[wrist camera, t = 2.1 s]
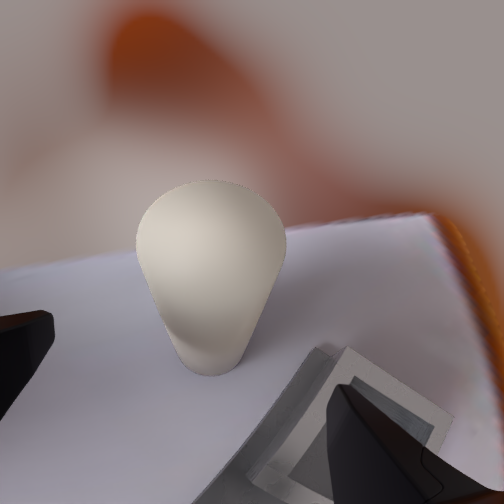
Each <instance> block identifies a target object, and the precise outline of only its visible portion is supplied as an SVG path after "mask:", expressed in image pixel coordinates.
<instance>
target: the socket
mask: <svg viewBox="0 0 504 504" xmlns="http://www.w3.org/2000/svg"><path fill="white" fill-rule="evenodd" d="M337 384H348V385H351V386H352V387H353V388H355V389H356V390H357V391H358V392H359V393H360V394H362V395H363V396H364V397H365V398H366V399H368V400H369V401H370V402H371V403H372V404H374V405H375V406H376V407H377V408H378V409H380V410H381V411H382V412H383V413H384V414H386V415H387V416H388V417H389V418H391V419H392V420H393V421H394V422H395V423H397V424H398V425H399V426H400V427H402V428H403V429H404V430H405V431H406V432H408V433H409V434H410V435H411V436H413V437H414V438H415V439H416V440H418V441H419V442H420V443H421V444H423V446H425V447H427V448H428V449H429V450H430V451H431V452H433V453H434V454H435V455H437V454H438V452H439V450H440V448H441V446H442V444H443V441H444V439H445V437H446V435H447V432H448V430H449V428H450V425H451V423H452V421H453V418H454V416H452V415H451V414H449V413H448V412H446V411H445V410H443V409H441V408H440V407H438V406H437V405H435V404H434V403H432V402H431V401H429V400H428V399H426V398H425V397H423V396H422V395H420V394H419V393H417V392H416V391H414V390H413V389H411V388H409V387H408V386H406V385H405V384H403V383H402V382H400V381H399V380H397V379H396V378H394V377H393V376H391V375H390V374H388V373H387V372H385V371H384V370H382V369H381V368H380V367H378V366H377V365H375V364H374V363H372V362H371V361H369V360H368V359H366V358H365V357H363V356H362V355H360V354H359V353H357V352H356V351H354V350H353V349H351V348H350V347H349V346H346V347H345V348H343V349H342V350H340V351H339V352H337V353H336V354H334V355H333V356H331V357H329V356H328V355H326V354H325V353H324V352H322V351H321V350H319V349H318V348H316V347H315V348H314V349H313V350H311V352H310V353H309V355H308V356H307V358H306V359H305V361H304V362H303V364H302V365H301V366H300V368H299V369H298V371H297V372H296V374H295V375H294V377H293V378H292V379H291V381H290V382H289V384H288V385H287V386H286V388H285V389H284V391H283V392H282V393H281V395H280V396H279V398H278V399H277V400H276V402H275V403H274V404H273V406H272V407H271V408H270V410H269V411H268V412H267V414H266V415H265V416H264V418H263V419H262V420H261V422H260V423H259V424H258V426H257V427H256V428H255V429H254V431H253V432H252V433H251V435H250V436H249V437H248V438H247V440H246V441H245V442H244V443H243V445H242V446H241V447H240V448H239V449H238V451H237V452H236V453H235V454H234V456H233V457H232V458H231V459H230V460H229V462H228V463H227V464H226V465H225V466H224V467H223V469H222V470H221V471H220V472H219V473H218V474H217V476H216V477H215V478H214V479H213V480H212V481H211V482H210V484H209V485H208V486H207V487H206V488H205V489H204V490H203V491H202V493H201V494H200V495H199V496H198V497H197V498H196V499H195V500H194V501H193V502H192V503H191V504H334V501H333V493H332V485H331V477H330V470H329V463H328V455H327V427H326V408H327V404H328V401H329V399H330V397H331V395H332V393H333V390H334V388H335V386H336V385H337Z"/></svg>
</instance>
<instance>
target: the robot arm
mask: <svg viewBox="0 0 504 504" xmlns="http://www.w3.org/2000/svg"><path fill="white" fill-rule="evenodd" d="M54 339H55V331H54V318H53V315H52V314H51V313H49V312H47V311H44V310H38V311H32V312H25V313H19V314H13V315H7V316H0V421H1V419H2V418H3V416H4V415H5V414H6V412H7V411H8V409H9V408H10V406H11V405H12V404H13V402H14V401H15V399H16V398H17V397H18V395H19V394H20V393H21V391H22V390H23V388H24V387H25V386H26V384H27V383H28V382H29V380H30V379H31V378H32V376H33V375H34V373H35V372H36V370H37V368H38V367H39V365H40V363H41V362H42V360H43V358H44V357H45V355H46V354H47V352H48V350H49V349H50V347H51V346H52V344H53V342H54ZM326 427H327V455H328V463H329V470H330V477H331V485H332V493H333V501H334V504H504V491H495V490H491V489H489V488H486V487H485V486H483V485H481V484H479V483H478V482H476V481H475V480H473V479H471V478H470V477H468V476H466V475H465V474H463V473H462V472H460V471H458V470H457V469H455V468H454V467H452V466H451V465H449V464H448V463H446V462H445V461H443V460H442V459H441V458H439V457H438V456H437V455H435V454H434V453H433V452H431V451H430V450H429V449H428V448H427V447H425V446H423V444H421V443H420V442H419V441H418V440H416V439H415V438H414V437H413V436H411V435H410V434H409V433H408V432H406V431H405V430H404V429H403V428H402V427H400V426H399V425H398V424H397V423H395V422H394V421H393V420H392V419H391V418H389V417H388V416H387V415H386V414H384V413H383V412H382V411H381V410H380V409H378V408H377V407H376V406H375V405H374V404H372V403H371V402H370V401H369V400H368V399H366V398H365V397H364V396H363V395H362V394H360V393H359V392H358V391H357V390H356V389H355V388H353V387H352V386H351V385H348V384H337V385H336V386H335V388H334V390H333V393H332V395H331V397H330V399H329V401H328V404H327V408H326Z"/></svg>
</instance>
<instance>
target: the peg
mask: <svg viewBox="0 0 504 504" xmlns="http://www.w3.org/2000/svg"><path fill="white" fill-rule="evenodd" d="M136 251H137V257H138V260H139V263H140V266H141V268H142V271H143V274H144V276H145V279H146V281H147V284H148V286H149V289H150V292H151V294H152V296H153V299H154V301H155V304H156V306H157V309H158V311H159V313H160V316H161V318H162V320H163V323H164V325H165V327H166V330H167V332H168V334H169V336H170V339H171V341H172V343H173V345H174V348H175V350H176V352H177V354H178V356H179V358H180V360H181V361H182V363H183V364H184V365H185V366H186V367H187V368H188V369H190V370H191V371H193V372H195V373H197V374H199V375H203V376H219V375H222V374H225V373H227V372H229V371H230V370H232V369H233V368H234V367H235V366H236V365H237V364H238V363H239V361H240V360H241V358H242V356H243V354H244V352H245V349H246V347H247V345H248V343H249V341H250V338H251V336H252V334H253V332H254V329H255V327H256V325H257V322H258V320H259V318H260V316H261V313H262V311H263V309H264V307H265V304H266V302H267V300H268V297H269V295H270V293H271V290H272V288H273V286H274V283H275V281H276V279H277V276H278V274H279V272H280V269H281V267H282V265H283V261H284V258H285V254H286V235H285V230H284V227H283V224H282V222H281V220H280V218H279V216H278V214H277V213H276V211H275V210H274V209H273V208H272V206H271V205H270V204H269V203H268V202H267V201H266V200H264V199H263V198H262V197H261V196H260V195H258V194H256V193H255V192H253V191H252V190H250V189H248V188H246V187H243V186H240V185H238V184H234V183H231V182H226V181H218V180H203V181H195V182H190V183H187V184H184V185H180V186H178V187H176V188H173V189H171V190H170V191H168V192H166V193H165V194H163V195H162V196H160V197H159V198H158V199H157V200H156V201H155V202H154V203H153V204H152V205H151V206H150V207H149V208H148V210H147V211H146V212H145V214H144V216H143V217H142V220H141V222H140V224H139V227H138V231H137V236H136Z"/></svg>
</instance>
